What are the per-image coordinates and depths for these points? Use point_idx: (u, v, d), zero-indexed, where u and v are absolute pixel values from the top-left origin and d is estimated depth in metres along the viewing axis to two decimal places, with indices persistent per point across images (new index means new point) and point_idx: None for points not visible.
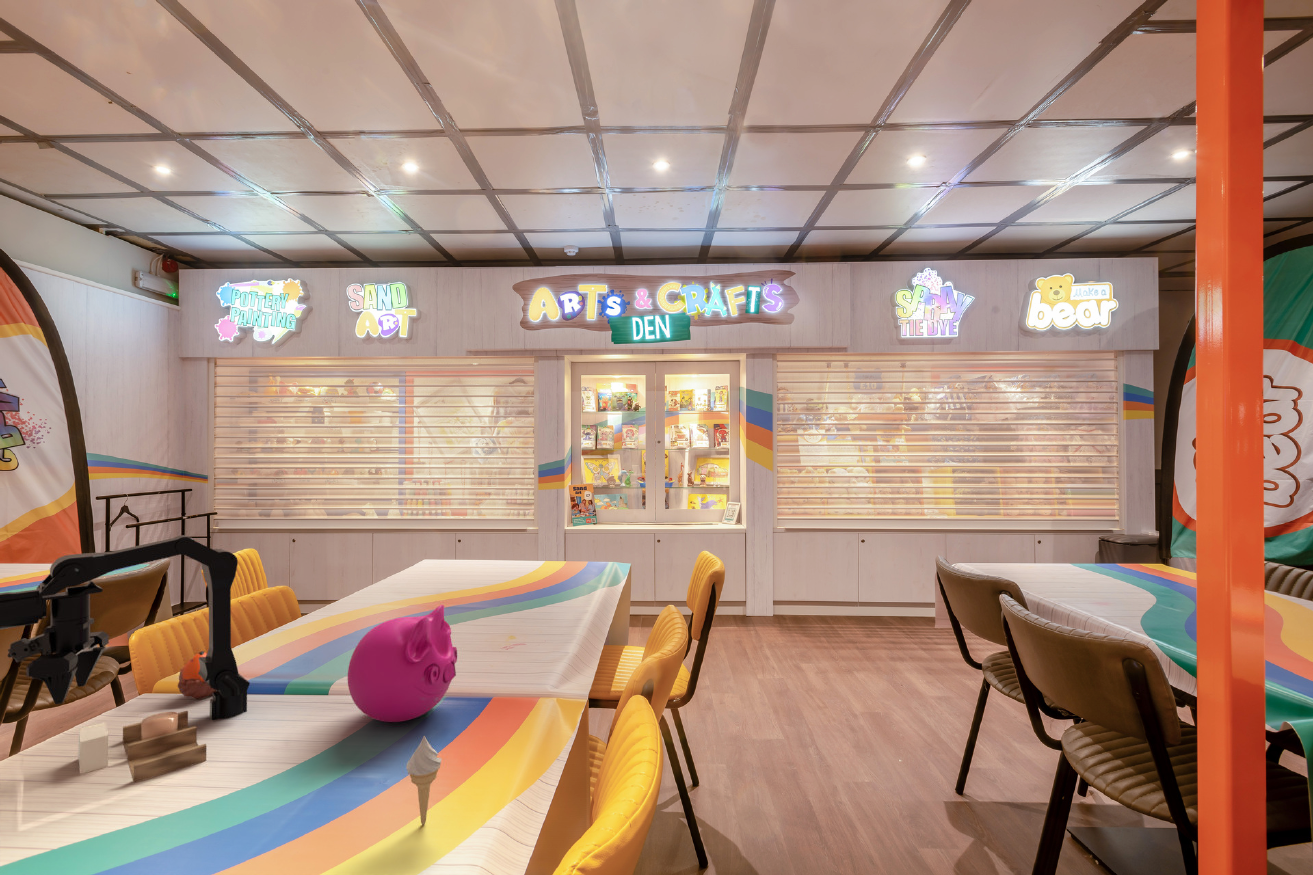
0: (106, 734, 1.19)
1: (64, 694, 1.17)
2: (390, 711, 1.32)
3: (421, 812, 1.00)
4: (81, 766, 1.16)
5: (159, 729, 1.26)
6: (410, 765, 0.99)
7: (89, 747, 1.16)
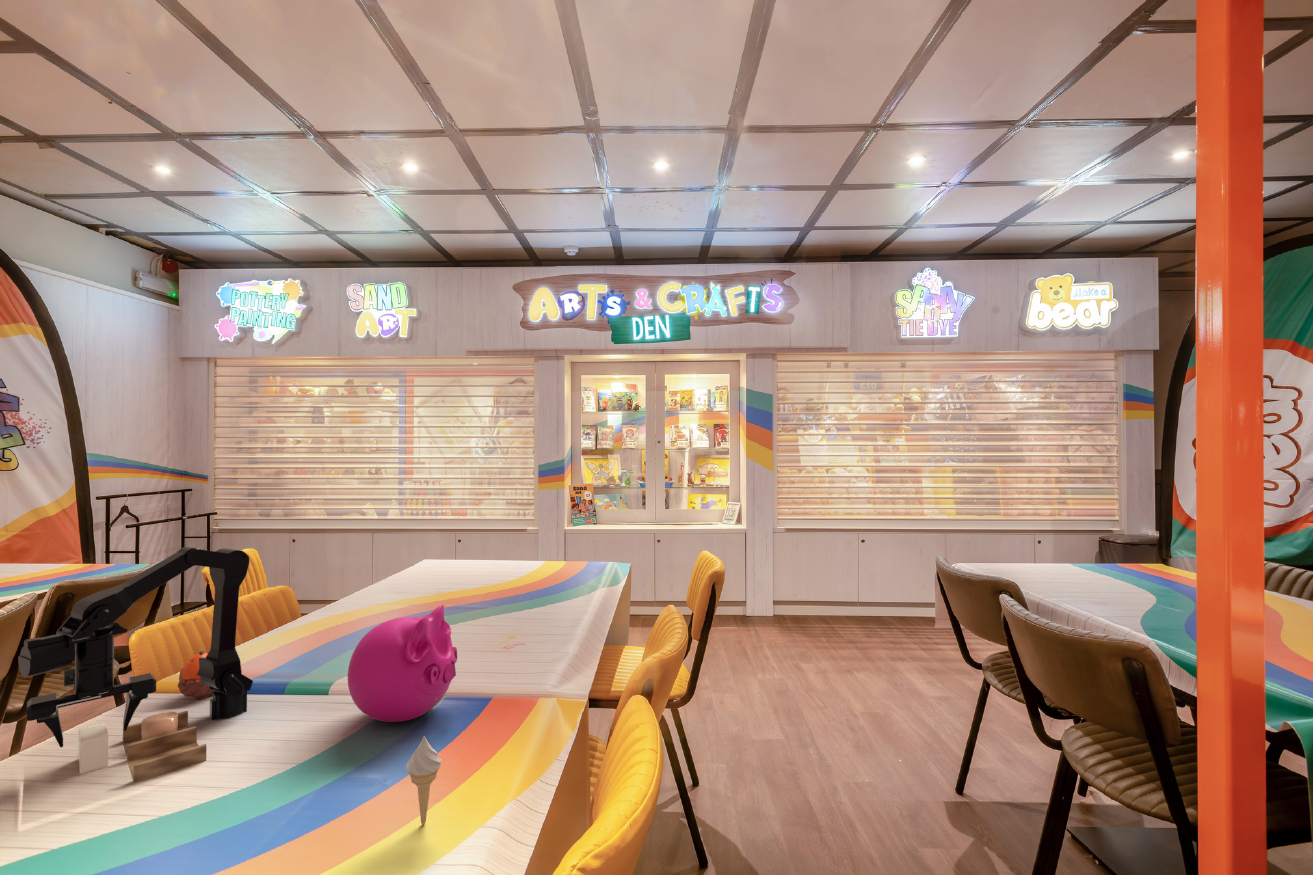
0: (106, 734, 1.19)
1: None
2: (390, 711, 1.32)
3: (421, 812, 1.00)
4: (81, 766, 1.16)
5: (159, 729, 1.26)
6: (410, 765, 0.99)
7: (89, 747, 1.16)
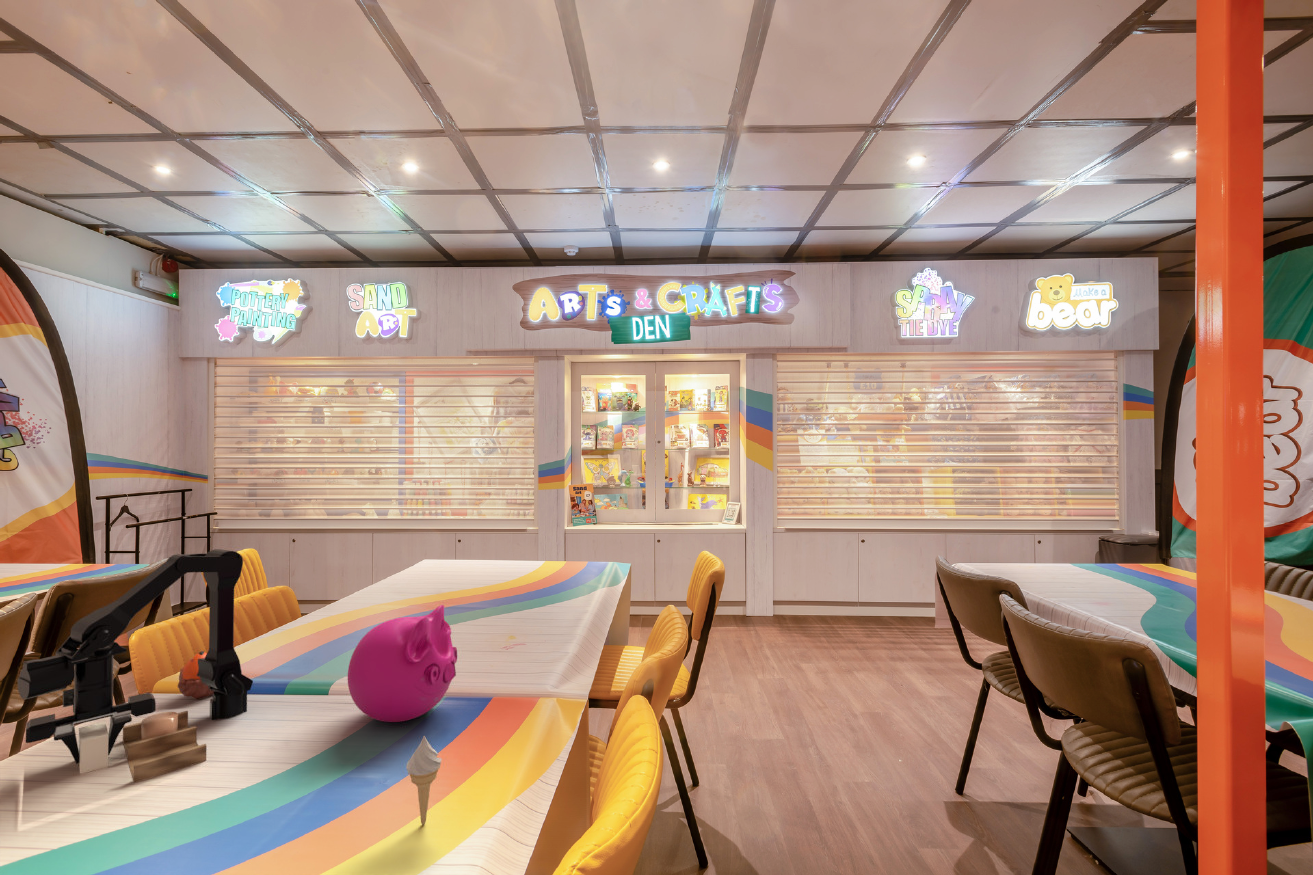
0: (106, 734, 1.19)
1: (73, 756, 1.17)
2: (390, 711, 1.32)
3: (421, 812, 1.00)
4: (81, 766, 1.16)
5: (159, 729, 1.26)
6: (410, 765, 0.99)
7: (89, 747, 1.16)
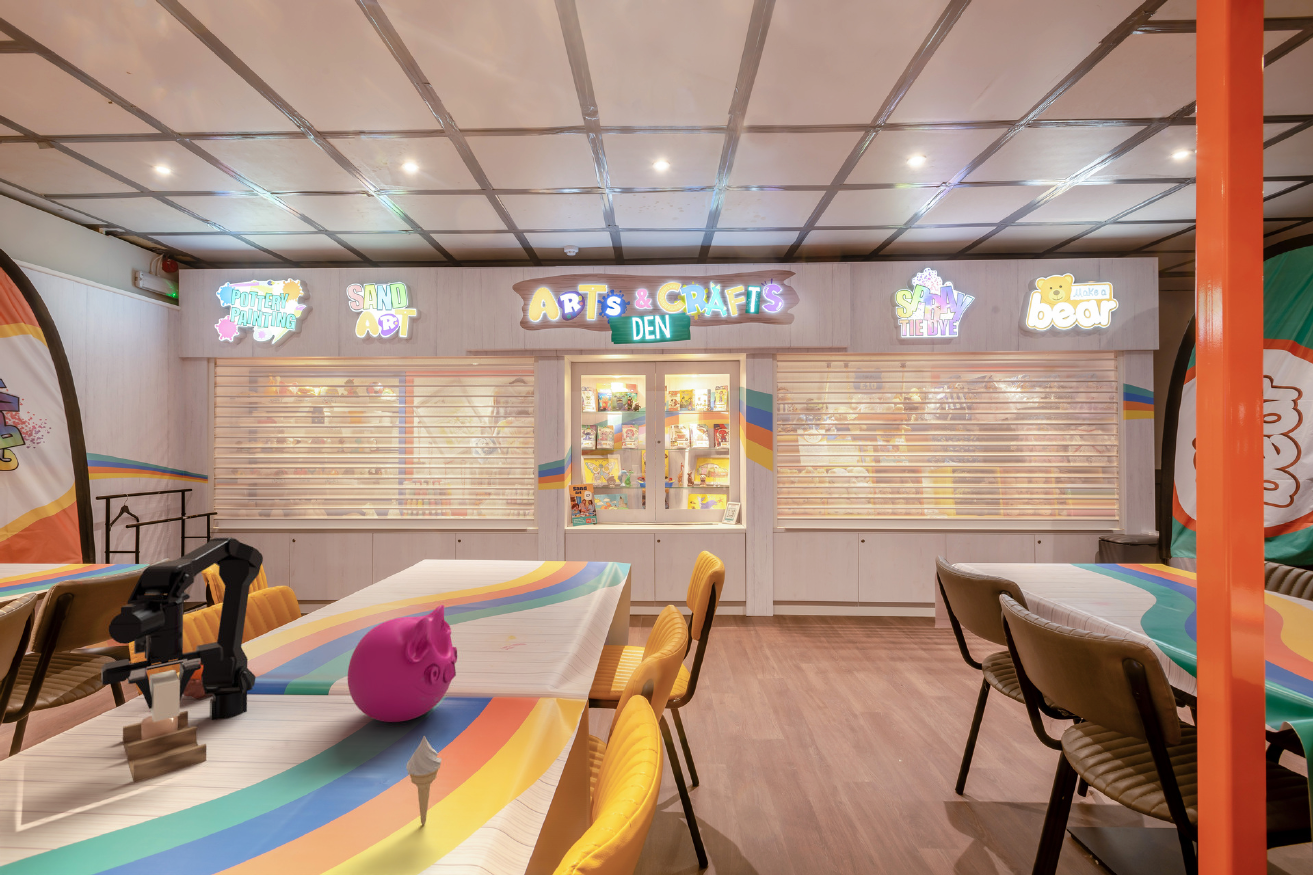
0: (177, 679, 1.20)
1: (146, 701, 1.18)
2: (390, 711, 1.32)
3: (421, 812, 1.00)
4: (154, 710, 1.17)
5: (159, 729, 1.26)
6: (410, 765, 0.99)
7: (162, 691, 1.17)
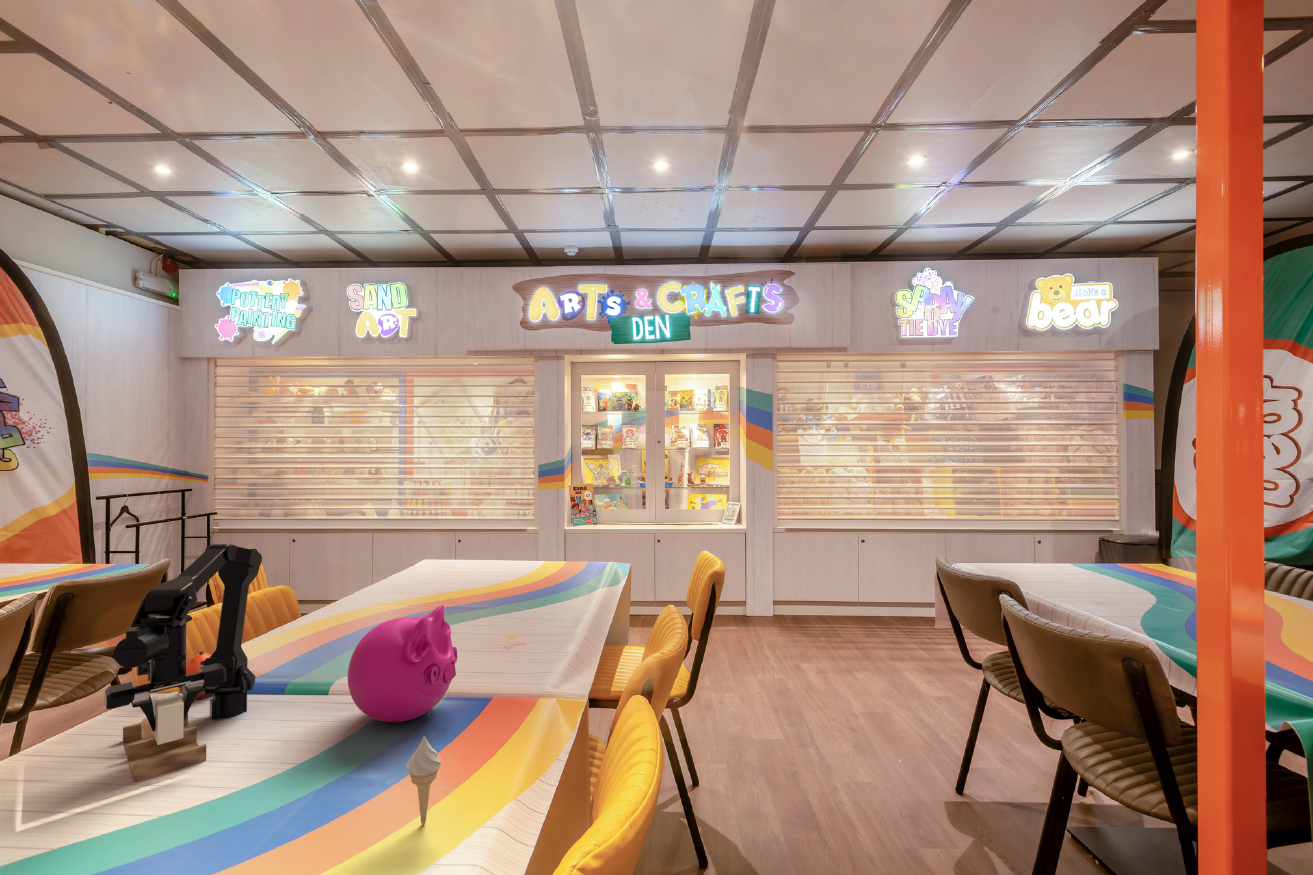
0: (181, 702, 1.20)
1: None
2: (390, 711, 1.32)
3: (421, 812, 1.00)
4: (159, 733, 1.17)
5: None
6: (410, 765, 0.99)
7: (166, 714, 1.18)
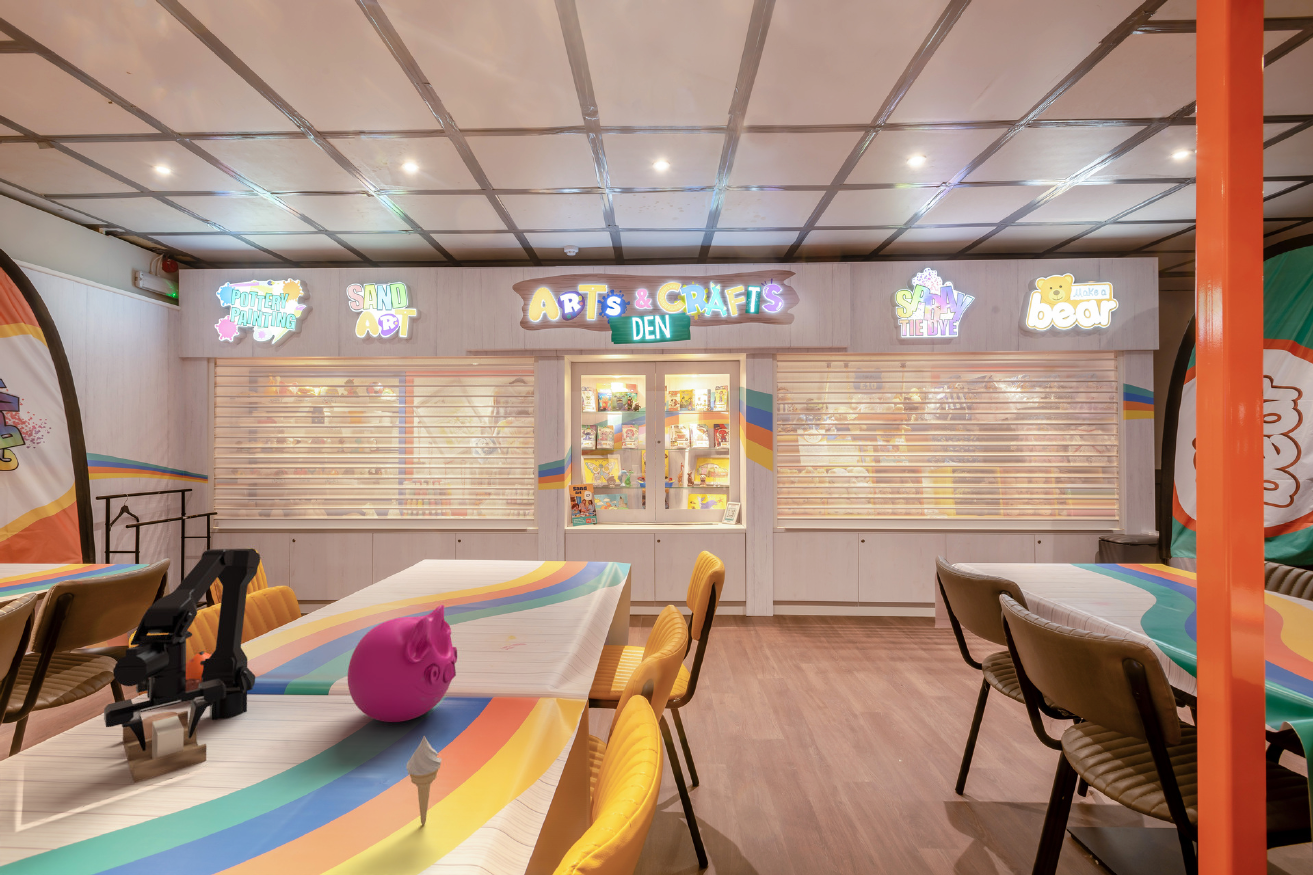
0: (181, 727, 1.20)
1: (140, 744, 1.17)
2: (390, 711, 1.32)
3: (421, 812, 1.00)
4: None
5: None
6: (410, 765, 0.99)
7: (166, 740, 1.17)
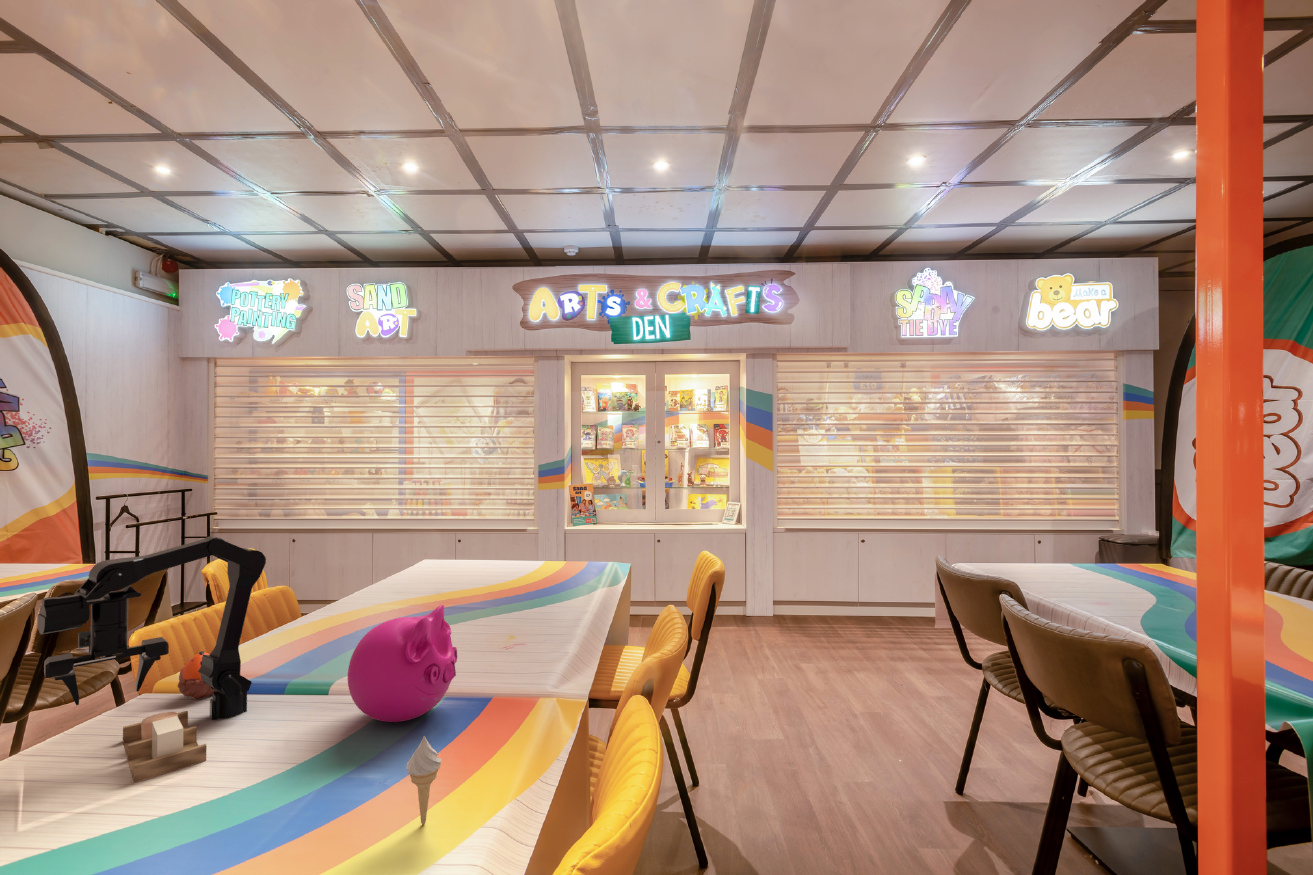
0: (181, 727, 1.20)
1: (73, 697, 1.19)
2: (390, 711, 1.32)
3: (421, 812, 1.00)
4: None
5: None
6: (410, 765, 0.99)
7: (166, 740, 1.17)
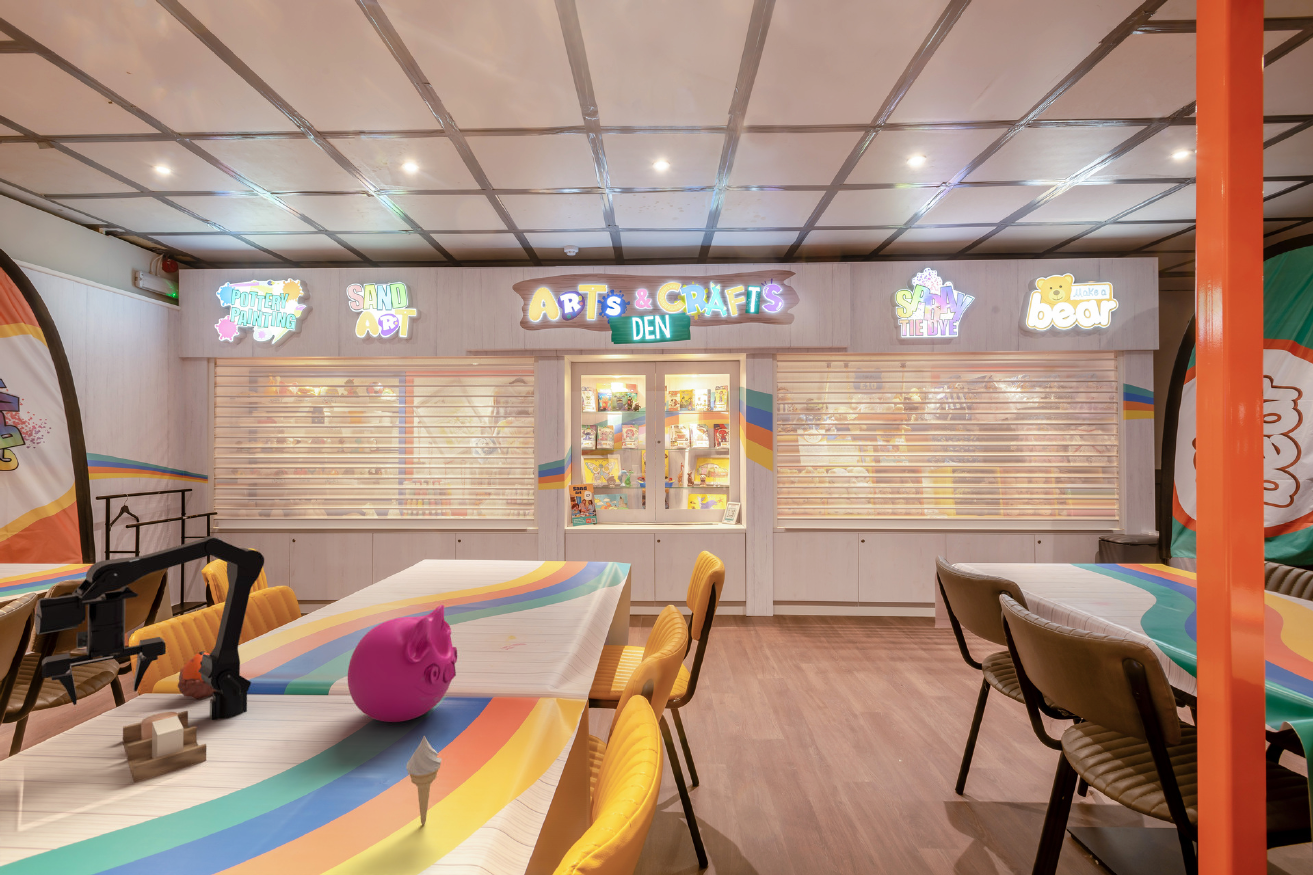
0: (181, 727, 1.20)
1: (70, 697, 1.20)
2: (390, 711, 1.32)
3: (421, 812, 1.00)
4: None
5: None
6: (410, 765, 0.99)
7: (166, 740, 1.17)
